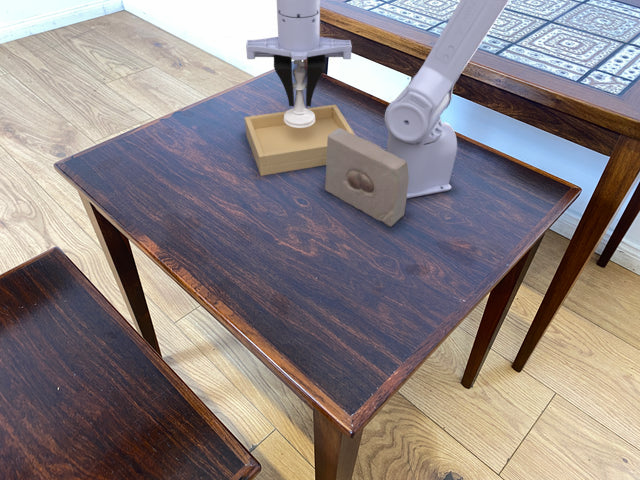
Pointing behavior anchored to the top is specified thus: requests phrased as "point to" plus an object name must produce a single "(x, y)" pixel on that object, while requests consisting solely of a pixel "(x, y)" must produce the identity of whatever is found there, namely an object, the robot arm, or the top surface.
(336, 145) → the fossil
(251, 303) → the top surface
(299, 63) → the chess piece
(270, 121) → the wooden tray
